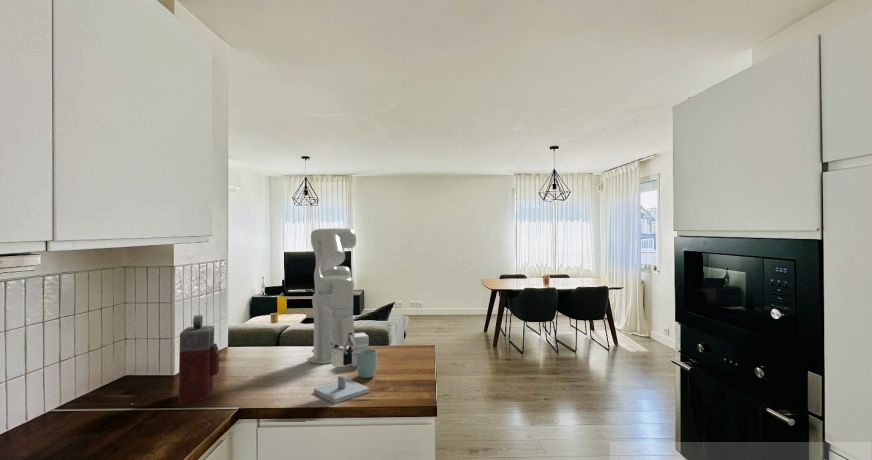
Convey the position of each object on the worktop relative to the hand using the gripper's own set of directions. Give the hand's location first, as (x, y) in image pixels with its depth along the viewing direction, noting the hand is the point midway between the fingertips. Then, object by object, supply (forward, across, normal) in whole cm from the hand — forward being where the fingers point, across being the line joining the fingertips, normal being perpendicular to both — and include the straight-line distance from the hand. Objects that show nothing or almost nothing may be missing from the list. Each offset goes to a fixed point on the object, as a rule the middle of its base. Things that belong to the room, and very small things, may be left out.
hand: (341, 362), depth 141 cm
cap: (+1, 0, 0) cm, 1 cm away
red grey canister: (+11, -33, -36) cm, 50 cm away
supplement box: (+11, -24, +24) cm, 36 cm away
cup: (+11, -7, +16) cm, 21 cm away
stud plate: (+11, 0, 0) cm, 11 cm away
